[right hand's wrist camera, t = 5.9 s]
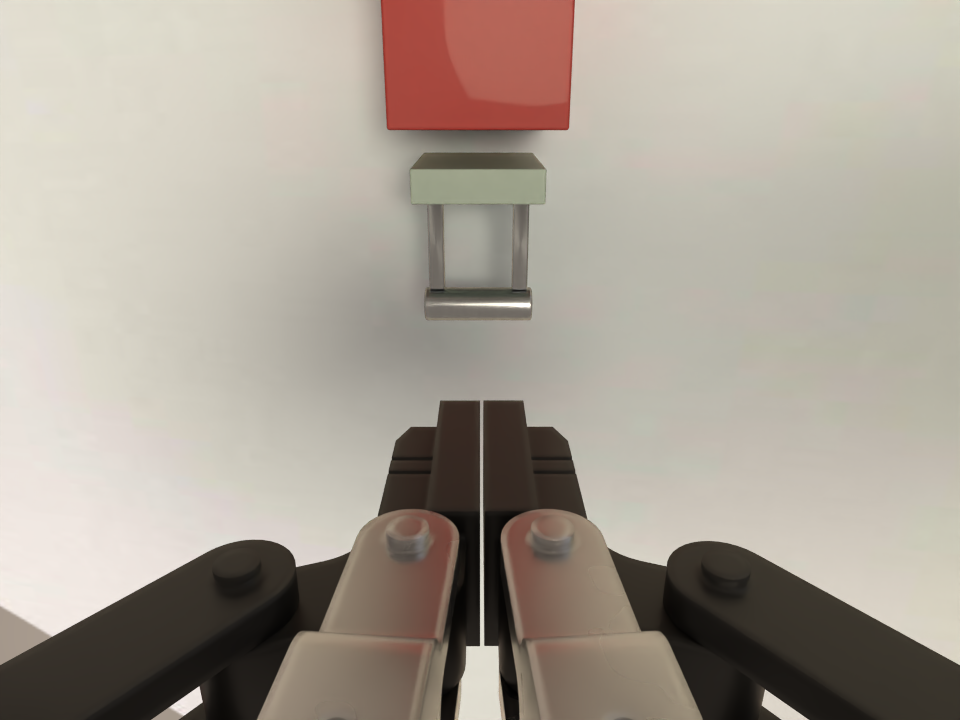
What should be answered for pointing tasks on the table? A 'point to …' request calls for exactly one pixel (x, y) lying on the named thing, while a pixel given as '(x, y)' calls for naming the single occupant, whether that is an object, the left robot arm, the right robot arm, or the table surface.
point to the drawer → (478, 184)
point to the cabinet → (477, 64)
